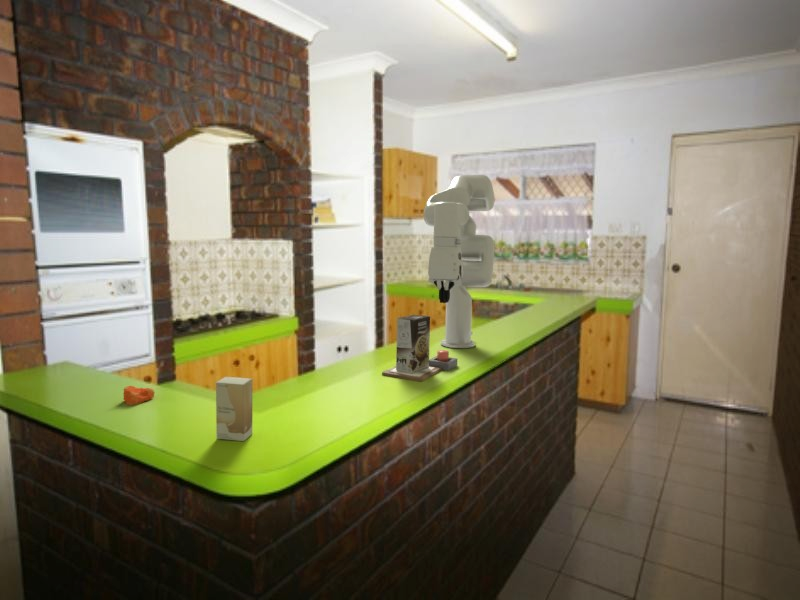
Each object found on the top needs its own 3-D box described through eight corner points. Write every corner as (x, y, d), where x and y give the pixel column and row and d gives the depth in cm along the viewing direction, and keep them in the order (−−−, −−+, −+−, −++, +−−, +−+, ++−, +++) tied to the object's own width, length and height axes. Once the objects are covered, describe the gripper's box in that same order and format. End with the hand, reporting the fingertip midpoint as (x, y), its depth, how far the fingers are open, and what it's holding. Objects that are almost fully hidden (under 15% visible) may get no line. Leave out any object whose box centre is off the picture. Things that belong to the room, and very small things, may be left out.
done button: (440, 359, 168) (440, 349, 168) (450, 361, 166) (450, 351, 166) (435, 361, 165) (435, 352, 165) (445, 363, 163) (445, 353, 163)
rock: (176, 400, 134) (176, 384, 133) (130, 415, 123) (129, 397, 122) (146, 392, 140) (145, 376, 139) (100, 405, 129) (98, 388, 128)
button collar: (437, 362, 171) (437, 355, 170) (457, 365, 167) (457, 358, 167) (427, 367, 165) (427, 360, 164) (448, 370, 161) (448, 363, 161)
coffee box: (413, 374, 153) (413, 320, 151) (395, 370, 157) (396, 317, 155) (430, 367, 161) (431, 315, 158) (412, 364, 165) (413, 313, 162)
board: (404, 364, 168) (404, 361, 168) (441, 370, 162) (441, 367, 162) (382, 374, 156) (382, 371, 156) (421, 381, 150) (421, 378, 150)
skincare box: (215, 439, 108) (213, 381, 106) (226, 431, 112) (224, 375, 111) (245, 441, 107) (243, 383, 105) (254, 433, 111) (252, 377, 110)
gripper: (473, 243, 160) (471, 303, 163) (429, 242, 167) (427, 299, 170) (463, 243, 154) (461, 305, 156) (418, 242, 161) (417, 301, 163)
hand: (444, 302), depth 163 cm, fingers closed
